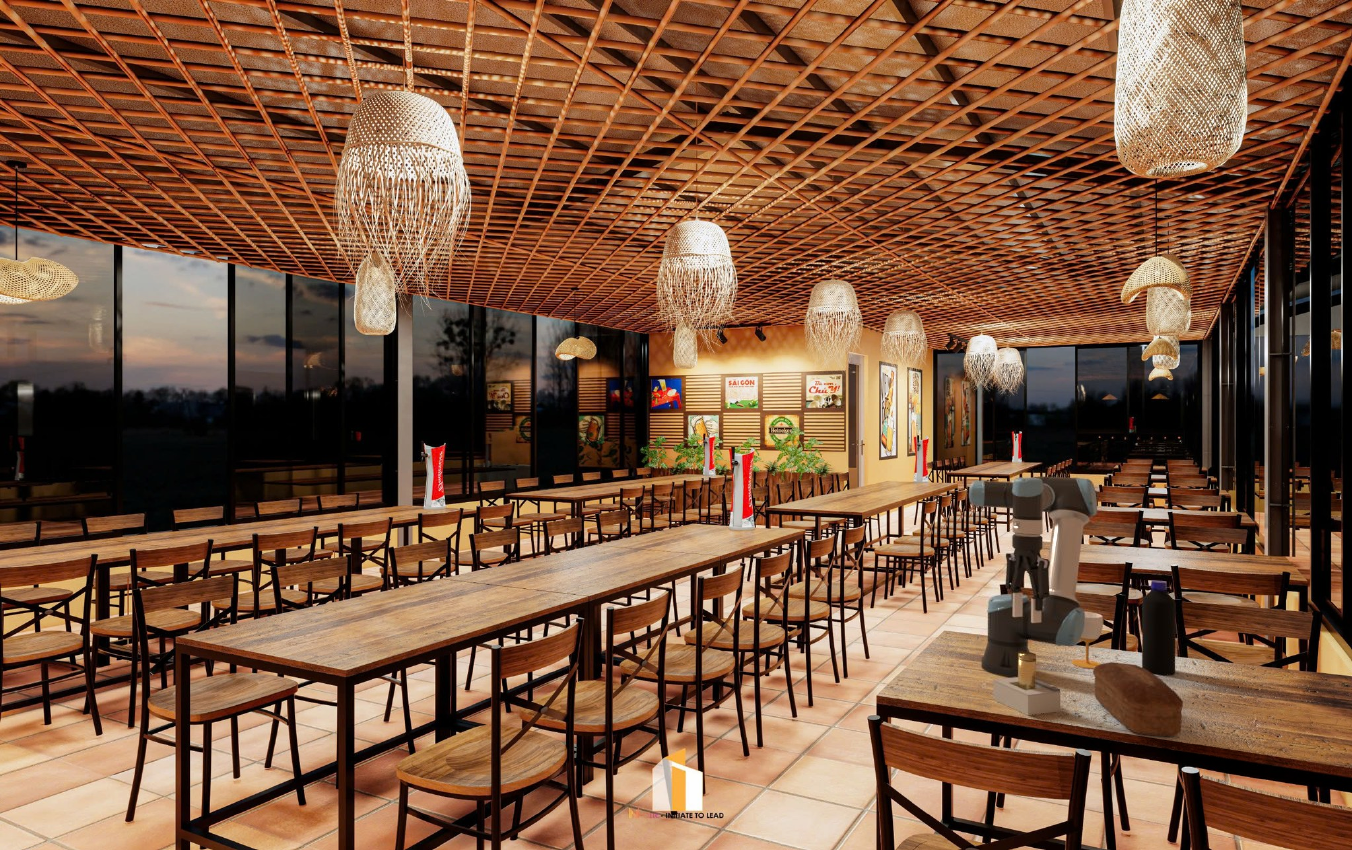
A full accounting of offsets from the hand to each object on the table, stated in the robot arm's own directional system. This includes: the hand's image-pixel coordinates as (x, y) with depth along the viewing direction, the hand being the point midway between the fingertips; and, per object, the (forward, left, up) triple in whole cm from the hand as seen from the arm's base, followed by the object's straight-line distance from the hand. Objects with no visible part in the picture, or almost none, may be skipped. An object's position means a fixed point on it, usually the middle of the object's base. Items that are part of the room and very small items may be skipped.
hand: (1026, 619), depth 211 cm
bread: (-20, +16, -24) cm, 35 cm away
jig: (0, 0, -23) cm, 23 cm away
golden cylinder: (0, 0, -23) cm, 23 cm away
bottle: (-63, -12, -24) cm, 68 cm away
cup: (-47, -24, -24) cm, 58 cm away
